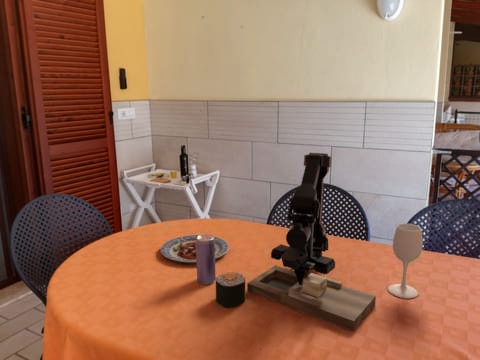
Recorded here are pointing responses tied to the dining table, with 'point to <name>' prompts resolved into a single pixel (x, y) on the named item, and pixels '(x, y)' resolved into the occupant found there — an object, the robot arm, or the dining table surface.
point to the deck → (314, 298)
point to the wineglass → (406, 256)
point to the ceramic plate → (189, 248)
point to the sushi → (230, 289)
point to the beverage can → (205, 259)
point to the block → (314, 284)
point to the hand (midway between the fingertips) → (301, 284)
